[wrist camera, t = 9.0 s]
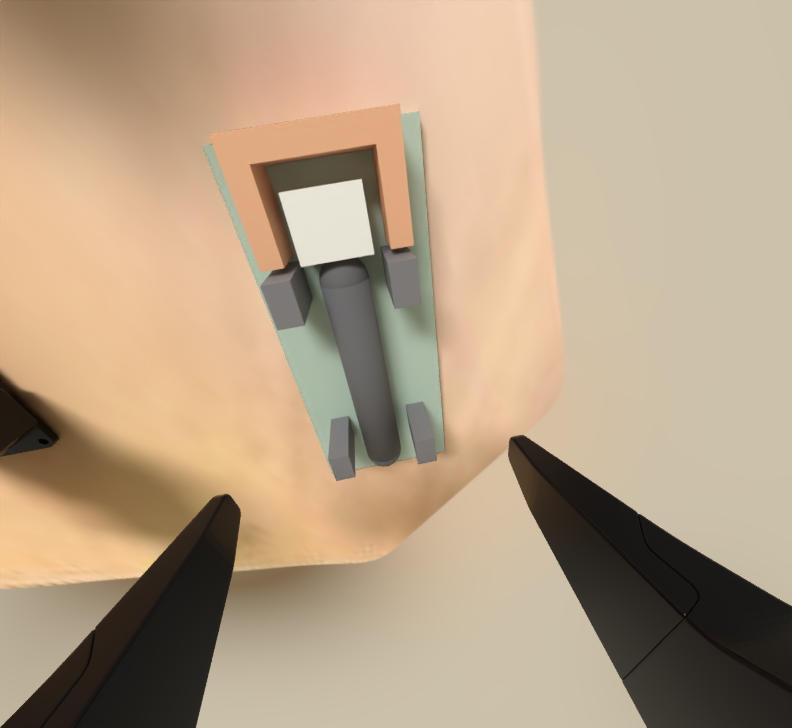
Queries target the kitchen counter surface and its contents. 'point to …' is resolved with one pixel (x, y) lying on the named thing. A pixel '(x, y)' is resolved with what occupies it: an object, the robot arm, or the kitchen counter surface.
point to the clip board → (388, 267)
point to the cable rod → (348, 300)
